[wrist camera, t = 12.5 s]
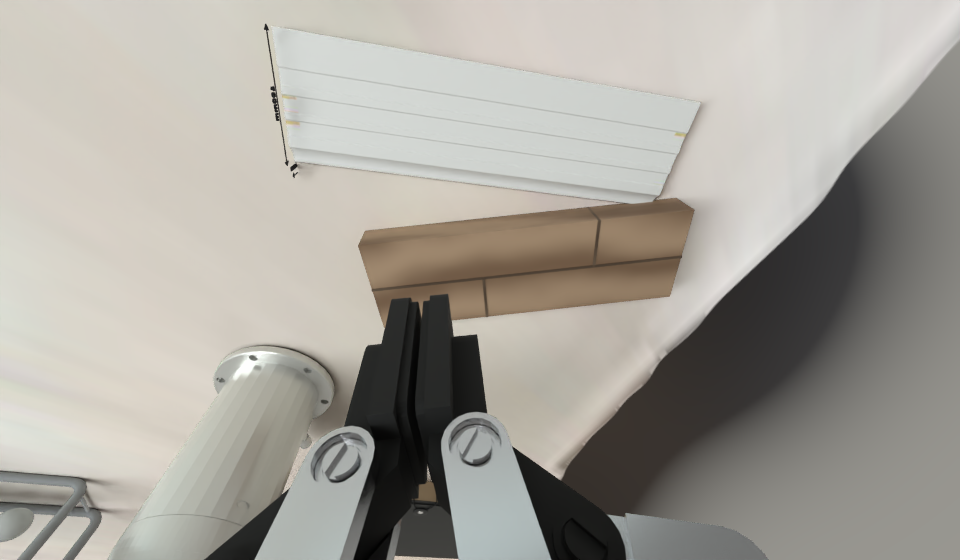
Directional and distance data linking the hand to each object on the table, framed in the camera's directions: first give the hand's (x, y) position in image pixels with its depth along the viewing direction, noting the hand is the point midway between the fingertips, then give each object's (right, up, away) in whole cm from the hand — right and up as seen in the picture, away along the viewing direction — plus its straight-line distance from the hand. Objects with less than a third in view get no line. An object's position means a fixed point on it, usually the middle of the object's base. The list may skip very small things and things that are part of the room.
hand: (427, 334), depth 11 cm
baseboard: (+2, +13, +17) cm, 22 cm away
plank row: (+6, +4, +22) cm, 23 cm away
